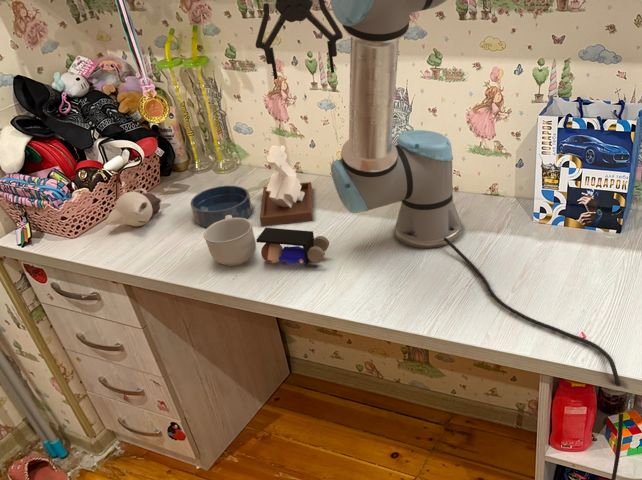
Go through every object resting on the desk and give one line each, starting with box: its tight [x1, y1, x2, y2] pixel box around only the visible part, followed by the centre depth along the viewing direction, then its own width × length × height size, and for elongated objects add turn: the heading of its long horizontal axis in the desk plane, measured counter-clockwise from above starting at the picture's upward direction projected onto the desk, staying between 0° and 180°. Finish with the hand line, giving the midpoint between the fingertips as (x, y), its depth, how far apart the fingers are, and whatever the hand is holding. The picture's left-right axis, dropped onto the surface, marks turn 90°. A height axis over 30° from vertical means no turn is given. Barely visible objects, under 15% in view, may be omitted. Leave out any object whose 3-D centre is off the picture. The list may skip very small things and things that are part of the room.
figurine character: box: [256, 227, 330, 268], centre depth 155 cm, size 7×8×15 cm
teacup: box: [203, 215, 257, 267], centre depth 159 cm, size 14×11×8 cm
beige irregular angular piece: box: [266, 145, 305, 208], centre depth 173 cm, size 7×12×15 cm
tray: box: [259, 181, 313, 227], centre depth 178 cm, size 18×13×2 cm
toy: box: [105, 187, 163, 227], centre depth 176 cm, size 13×9×15 cm
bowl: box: [190, 185, 253, 228], centre depth 177 cm, size 15×15×4 cm
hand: (304, 74), depth 167 cm, fingers open, 13 cm apart
